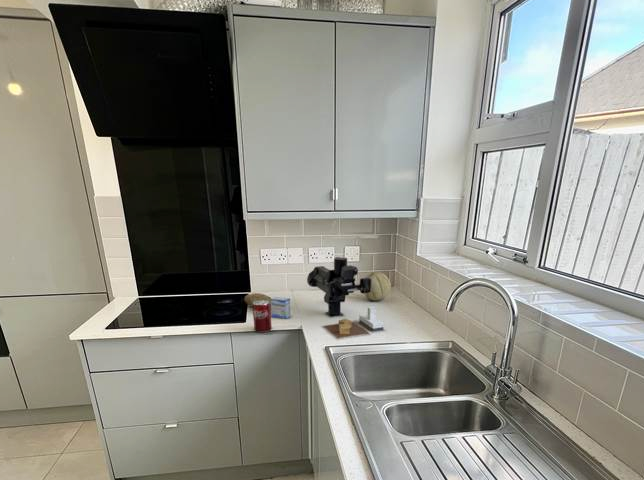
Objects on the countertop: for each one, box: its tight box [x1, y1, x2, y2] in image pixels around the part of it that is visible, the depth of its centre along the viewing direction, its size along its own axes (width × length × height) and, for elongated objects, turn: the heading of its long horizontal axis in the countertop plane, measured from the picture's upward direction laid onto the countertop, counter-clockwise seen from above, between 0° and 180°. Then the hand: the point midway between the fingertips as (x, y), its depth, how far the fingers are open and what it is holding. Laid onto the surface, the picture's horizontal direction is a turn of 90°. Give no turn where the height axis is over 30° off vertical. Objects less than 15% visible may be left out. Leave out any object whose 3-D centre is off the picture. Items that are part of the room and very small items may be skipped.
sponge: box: [244, 292, 273, 309], centre depth 200 cm, size 13×8×20 cm
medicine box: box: [271, 296, 291, 319], centre depth 187 cm, size 8×4×9 cm, turn 71°
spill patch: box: [323, 321, 370, 339], centre depth 171 cm, size 16×14×1 cm
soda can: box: [251, 301, 273, 333], centre depth 169 cm, size 7×7×12 cm
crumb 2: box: [339, 324, 349, 334], centre depth 167 cm, size 4×4×3 cm
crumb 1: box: [337, 318, 353, 328], centre depth 173 cm, size 4×4×3 cm
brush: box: [358, 306, 385, 332], centre depth 173 cm, size 13×5×8 cm, turn 23°
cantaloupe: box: [364, 271, 392, 302], centre depth 211 cm, size 15×15×15 cm
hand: (358, 292), depth 163 cm, fingers open, 9 cm apart
